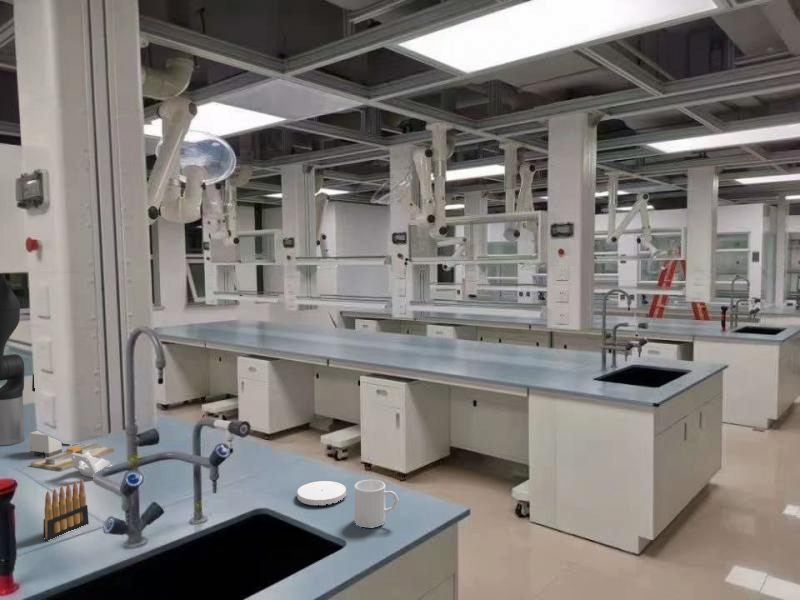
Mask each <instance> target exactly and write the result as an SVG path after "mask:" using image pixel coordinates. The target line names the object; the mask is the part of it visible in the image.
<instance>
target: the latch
mask: <svg viewBox="0 0 800 600" xmlns="http://www.w3.org/2000/svg"><path fill="white" fill-rule="evenodd" d="M80 450H81V448H80V447H79V446H76V445H72V446H69V447H67V448H66V450H65V451H67V452H71V453H73V452H77V451H80Z"/></svg>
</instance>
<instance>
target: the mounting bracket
mask: <svg viewBox="0 0 800 600" xmlns="http://www.w3.org/2000/svg"><path fill="white" fill-rule="evenodd" d="M71 457H72V461H73V465H74V467H73V468H74V469H75V470H77V471H79V473H80V474H81V475H82V476H84V477H85V476H86V477H89V478H92V476H93V474H95V473H96V472H98V471H100V470H102V469H104V468H108V467H111V466H113V465H112V464H111V461H110V460H107V459H104V458H103V457H101V458H100V457H97V458H96V457H92V456H91V454H90V452H89V451H87V452H86V453H84V454H79V453H74V452H73V453H72V454H71Z"/></svg>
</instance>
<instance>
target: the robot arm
mask: <svg viewBox="0 0 800 600" xmlns="http://www.w3.org/2000/svg"><path fill="white" fill-rule="evenodd" d="M20 286H21V288H22V291H24V294H26V296H27V297H28V288H27V276H26V275H25V274H23V273H22V275H21V280H20ZM20 315H21V304H20V301H19V300H18V297H17V296H16V294H15V293H14V292H13V290H12V289H11V288H10V286H9V284H8V282H7V279H6V274H0V382H1V381H6V382H5V383H4V384H3V385H2V386H1V387H0V446H11V445H16V444H19V443H22V442H24V441H25V418H24V416H25V415H24V389H25V363H24V359H23V358H22V356H21V355H20V354H17V353H16V354H15V353H14V354H6V355H5V354H4V353H5V346H6V344H7V342H8V341H9V339H10V337H11V336H12V335H13V333H14V332H15V330H16V328H17V327H18V326H19V324H20V320H21V317H20ZM31 378H32V381H31V385H32V386H31V391H32V392H35V388H34V374H32V377H31ZM35 393H36V392H35Z"/></svg>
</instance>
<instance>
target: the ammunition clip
mask: <svg viewBox="0 0 800 600" xmlns="http://www.w3.org/2000/svg"><path fill="white" fill-rule="evenodd" d="M65 488H66V490H65V489H64V487H63V486H62V485H61V486H60V489H59V491H57V489H56V488H54V489H53V491H52V497H51V494H50V492H49V490H48V491H46V493H45V497H44V498H45V499H44V501H45V502H44V519H43V539H44V538H45V539H46V540H50V539H53V538H55V537H57V536H59V535H62V534H64V533H66V532H68V531H71V530H74V529H76V530H78V529H80V528H82V527H81V526H83V527H85V526H86V524H87V525H90V524H89V522H90V521H89V511H88V504H87V496H86V488H85V482H84V480H83V478H81V479H80V482H79V487H78V483H77V481H74V482H73V485H72V487H71V485H70V484H69V483H67V485H66V487H65ZM58 492H59V494H58ZM84 525H85V526H84ZM79 527H80V528H79ZM77 528H78V529H77ZM74 531H75V530H74ZM71 532H72V531H71ZM64 535H65V534H64ZM62 536H63V535H62ZM55 539H56V538H55ZM46 540H45V541H46ZM53 540H54V539H53Z"/></svg>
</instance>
